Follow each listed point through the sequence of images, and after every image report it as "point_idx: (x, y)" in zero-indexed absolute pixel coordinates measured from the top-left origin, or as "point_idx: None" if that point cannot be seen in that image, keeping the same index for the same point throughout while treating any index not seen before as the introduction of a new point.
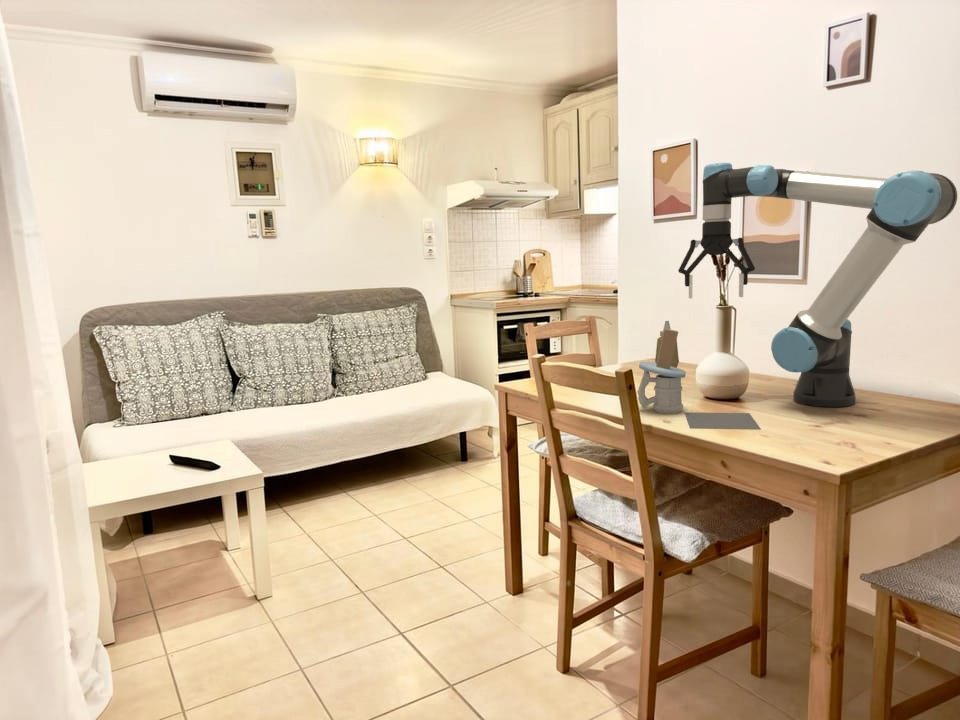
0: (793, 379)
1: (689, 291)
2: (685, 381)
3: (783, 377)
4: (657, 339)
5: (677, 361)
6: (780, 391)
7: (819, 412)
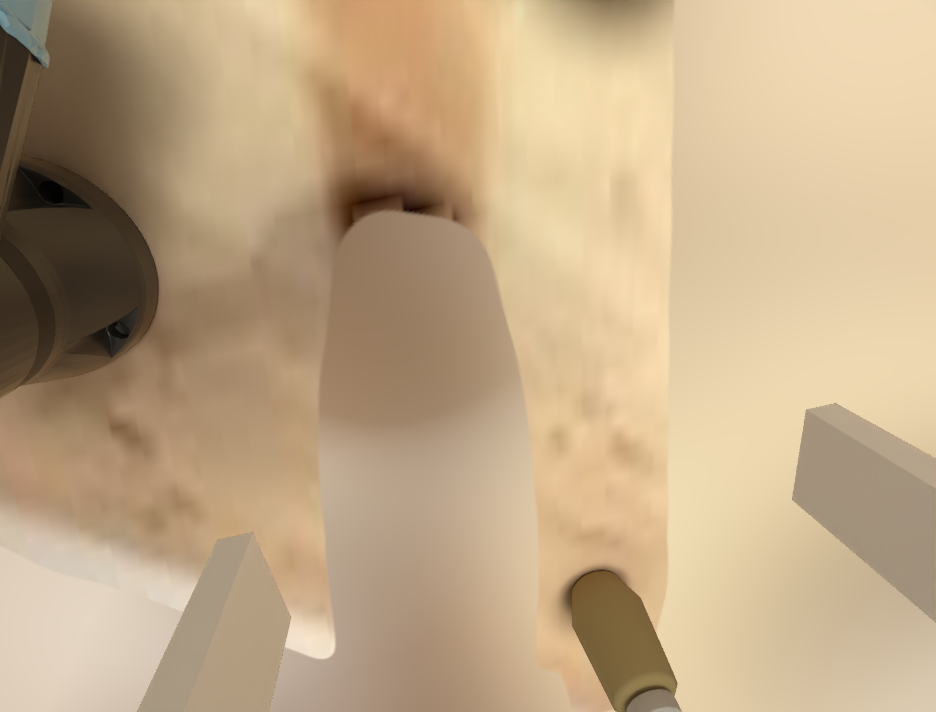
0: None
1: (917, 462)
2: (540, 480)
3: None
4: (676, 681)
5: (578, 614)
6: (227, 402)
7: None
